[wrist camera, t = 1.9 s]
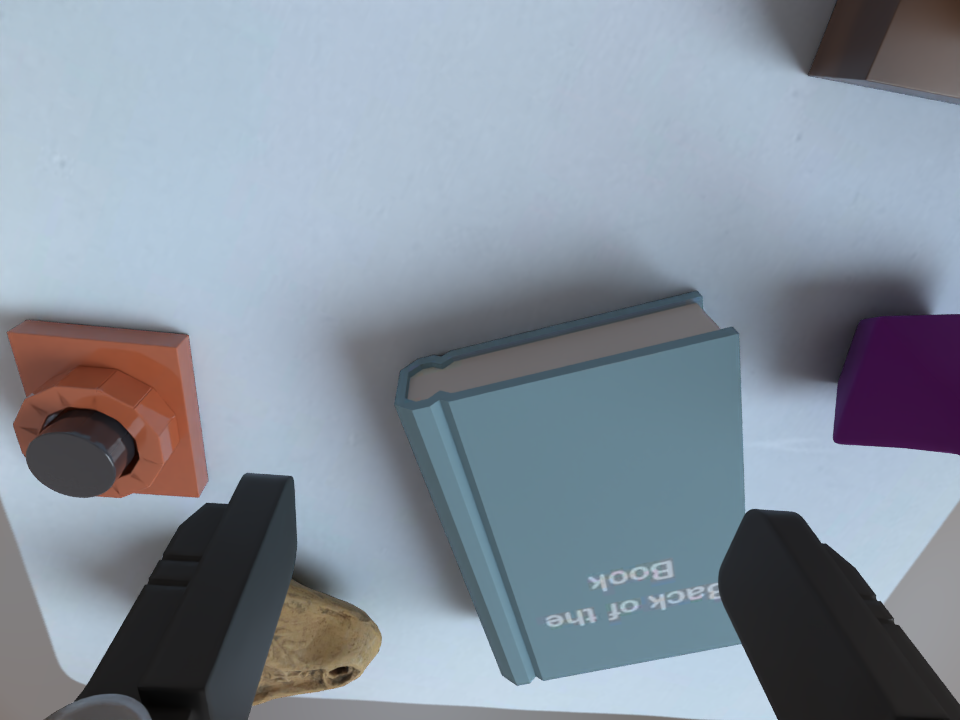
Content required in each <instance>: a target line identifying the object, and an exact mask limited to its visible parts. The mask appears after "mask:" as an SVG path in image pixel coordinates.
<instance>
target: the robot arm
mask: <svg viewBox="0 0 960 720" xmlns="http://www.w3.org/2000/svg"><path fill="white" fill-rule="evenodd" d="M296 550H297V531H296V510H295V489H294V480H293V477H292V476H284V475H270V474H255V473H246V474H244V475H243V477H242V478H241V480H240V482H239V484H238V486H237V488H236V490H235V492H234V494H233V496H232V498H231V500H230V502H229V504H218V503H206V504H205V505H203V506H202V507H201V508H200V509H199V510H197V511H196V512H195V513H194V514H193V515H192V516H190V517H189V518H188V519H187V520H186V521H184V522H183V523H182V524H181V525H180V526H179V527H178V529H177V531H176V532H175V534H174V536H173V538H172V539H171V541H170V543H169V544H168V546H167V548H166V550H165V551H164V553H163V558H162V560H159V562H158V563H157V565H156V567H155V569H154V570H153V572H152V574H151V576H150V577H149V582H148V584H147V585H145V586H144V588H143V589H142V591H141V593H140V595H139V596H138V598H137V600H136V601H135V603H134V605H133V607H132V608H131V610H130V612H129V613H128V615H127V617H126V619H125V620H124V622H123V624H122V626H121V627H120V629H119V631H118V632H117V634H116V636H115V638H114V639H113V641H112V643H111V645H110V646H109V648H108V650H107V651H106V653H105V655H104V657H103V658H102V660H101V662H100V664H99V665H98V667H97V669H96V670H95V672H94V674H93V676H92V677H91V679H90V681H89V682H88V684H87V685H86V687H85V688H84V690H83V691H82V693H81V694H80V695H79V696H78V698H77V699H76V700H75V701H74V702H73V703H71V704H68V705H67V706H65V707H63V708H61V709H59V710H58V711H56V712H54V713H53V714H51V715H50V716H48V717H47V718H46V719H44V720H248V716H249V713H250V710H251V707H252V704H253V701H254V697H255V694H256V691H257V688H258V685H259V681H260V678H261V675H262V672H263V668H264V665H265V662H266V659H267V656H268V652H269V649H270V646H271V643H272V640H273V636H274V633H275V630H276V627H277V624H278V620H279V617H280V614H281V611H282V607H283V604H284V601H285V598H286V595H287V591H288V588H289V585H290V582H291V578H292V574H293V570H294V565H295V559H296ZM718 588H719V594H720V598H721V601H722V603H723V606H724V608H725V610H726V612H727V614H728V616H729V618H730V620H731V622H732V625H733V627H734V629H735V631H736V633H737V635H738V637H739V639H740V641H741V643H742V646H743V648H744V650H745V652H746V654H747V656H748V658H749V660H750V662H751V664H752V667H753V669H754V671H755V673H756V675H757V677H758V679H759V681H760V683H761V685H762V687H763V690H764V692H765V694H766V696H767V698H768V700H769V702H770V704H771V706H772V708H773V711H774V713H775V715H776V717H777V719H778V720H960V704H959V703H958V702H957V701H956V699H955V698H954V697H953V695H952V694H951V693H950V691H949V690H948V689H947V688H946V686H945V685H944V683H943V682H942V681H941V680H940V678H939V677H938V676H937V674H936V673H935V672H934V671H933V669H932V668H931V666H930V665H929V664H928V663H927V661H926V660H925V659H924V657H923V656H922V655H921V653H920V652H919V651H918V650H917V648H916V647H915V646H914V644H913V643H912V642H911V640H910V639H909V638H908V636H907V635H906V634H905V633H904V631H903V630H902V629H901V627H900V626H899V625H895V624H894V618H893V617H892V615H891V614H890V613H889V612H888V610H887V609H886V608H885V606H884V605H883V604H882V602H881V601H877V600H876V595H875V593H874V592H873V591H872V589H871V588H870V587H869V585H868V584H867V583H866V581H865V580H864V579H863V578H862V576H861V575H860V574H859V572H858V571H857V570H856V568H855V567H853V566H852V565H851V564H850V563H849V562H847V561H846V560H845V559H844V558H843V557H841V556H840V555H839V554H838V553H837V552H836V551H834V550H833V549H832V548H831V547H830V546H828V545H827V544H823V543H821V542H820V540H819V539H818V538H817V536H816V535H815V534H814V532H813V531H812V530H811V528H810V527H809V525H808V524H807V523H806V521H805V520H804V519H803V518H802V517H801V516H800V515H799V514H797V513H795V512H789V511H774V510H760V509H751V510H749V511H748V512H747V513H746V514H745V515H744V517H743V519H742V521H741V523H740V525H739V527H738V529H737V532H736V534H735V536H734V538H733V540H732V542H731V544H730V547H729V549H728V551H727V553H726V555H725V557H724V560H723V562H722V564H721V566H720V569H719V575H718Z"/></svg>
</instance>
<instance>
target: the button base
mask: <svg viewBox="0 0 960 720" xmlns="http://www.w3.org/2000/svg"><path fill="white" fill-rule="evenodd" d="M7 335H8V339H9V342H10V345H11V348H12V352H13V355H14V358H15V361H16V365H17V368H18V371H19V374H20V378H21V381H22V384H23V387H24V391H25V394H26V397H27V398H25V399H24V401H23V403H22V406H21V408H20V410H19V412H18V414H17V417H16V419H15V421H14V423H13V427H14V430H15V433H16V436H17V439H18V442H19V445H20V448H21V451H22V454H24V456H25V457H26V451H27V448H28V445H29V444H30V442H31V441H32V440H33V439H34V438H35V437H36V436H38V435H39V434H40V433H41V432H42V431H43V430H44V429H45V428H46V427H47V426H48V425H49V424H50V423H52V422H53V421H54V420H55V419H56V418H57V417H58V416H59V415H61V414H63V413H65V412H67V411H70V410H75V409H89V410H94V411H98V412H101V413H103V414H105V415H107V416H109V417H112V418H114V419H116V420H117V421H119V422H120V423H121V424H122V425H123V427H124V428H125V429H126V430H127V431H128V432H129V433H130V434H131V436H132V438H133V440H134V443H135V455H134V458H133V460H132V461H131V463H130V464H129V465H128V466H127V468H126V469H125V470H124V472H123V473H122V474H121V475H120V477H119V478H118V479H117V481H116V482H115V483H114V484H113V486H112V487H111V488H110V489H109V490H108V491H106V492H105V493H103V494H101V495H98V497H113V498H122V497H125V496H127V495H130V494H133V493H138V494H152V495H167V496H182V497H197V498H198V497H199V496H200V495H201V493H202V491H203V489H204V488H205V486H206V484H207V482H208V474H207V467H206V460H205V452H204V445H203V437H202V430H201V423H200V415H199V408H198V400H197V393H196V386H195V378H194V371H193V364H192V356H191V349H190V341H189V335H187V334H176V333H165V332H154V331H144V330H133V329H122V328H111V327H100V326H90V325H79V324H68V323H57V322H47V321H36V320H25V321H23V322H22V323H20V324H19V325H17V326H16V327H14V328H12V329H11V330H9V331H8V332H7Z"/></svg>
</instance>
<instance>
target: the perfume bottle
mask: <svg viewBox="0 0 960 720" xmlns="http://www.w3.org/2000/svg"><path fill="white" fill-rule="evenodd" d="M833 440H834V442H835V443H838V444H844V445H861V446H878V447H895V448H908V449H917V450H926V451H934V452H943V453H952V454H958V455H960V314H946V315H907V316H880V317H874V318H868V319H863V320H861V321H860V322H859V323H858V326H857V329H856V332H855V335H854V338H853V340H852V343H851V346H850V349H849V352H848V355H847V358H846V361H845V363H844V366H843V369H842V372H841V375H840V378H839V381H838V387H837V398H836V409H835V420H834V430H833Z"/></svg>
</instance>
